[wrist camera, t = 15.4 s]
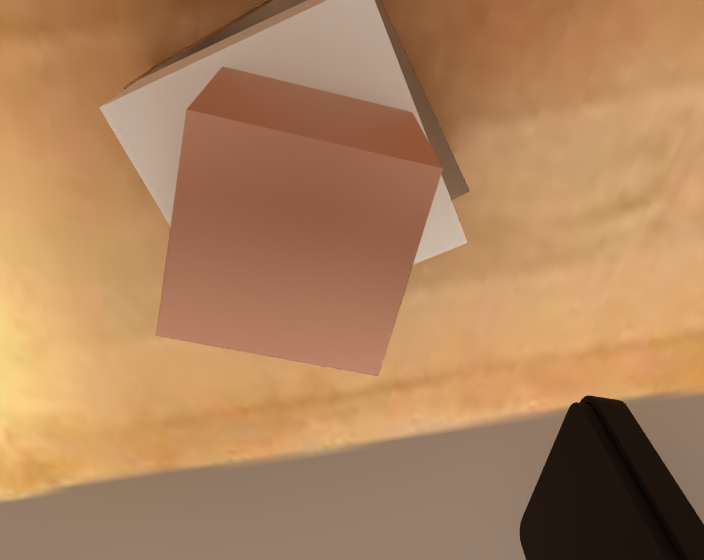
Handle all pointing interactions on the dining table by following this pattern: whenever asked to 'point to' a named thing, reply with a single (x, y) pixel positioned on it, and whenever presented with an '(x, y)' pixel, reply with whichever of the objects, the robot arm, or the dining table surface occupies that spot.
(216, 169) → the terracotta cube
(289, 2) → the tower bottom
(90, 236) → the dining table surface
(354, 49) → the tower top
